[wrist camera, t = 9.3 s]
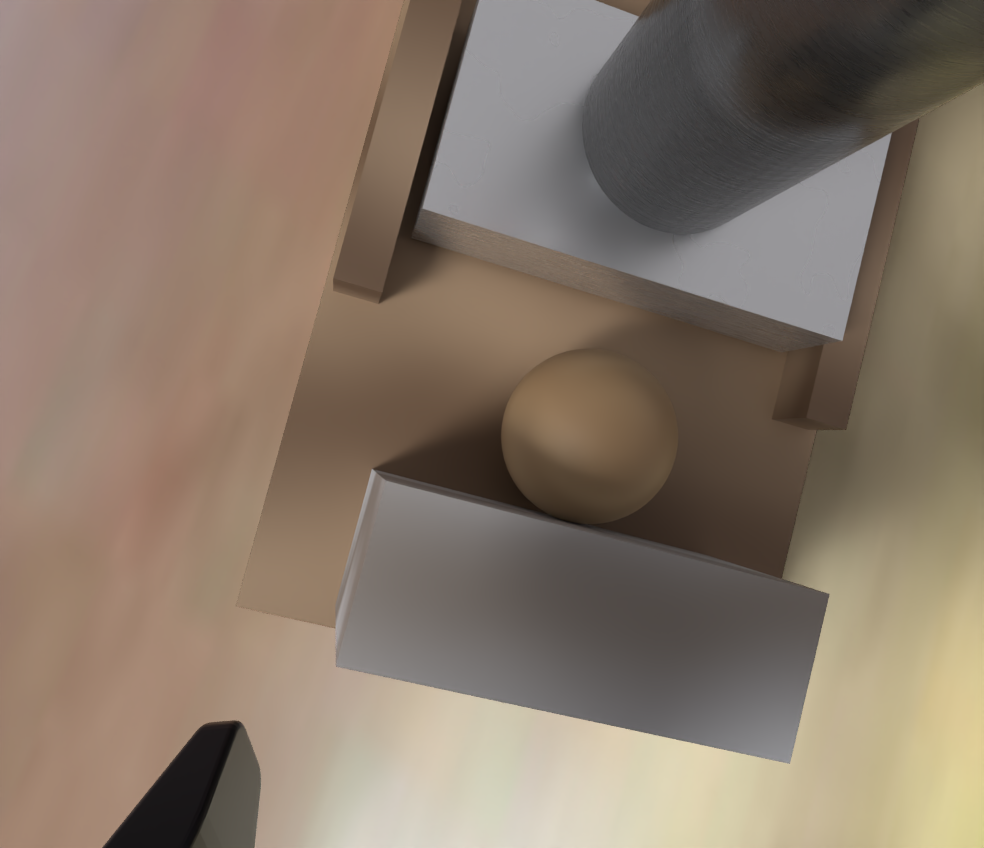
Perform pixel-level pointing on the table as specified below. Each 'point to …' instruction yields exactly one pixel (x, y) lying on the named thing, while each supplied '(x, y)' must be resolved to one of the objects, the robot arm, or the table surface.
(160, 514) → the table surface
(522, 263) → the handle
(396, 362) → the board
